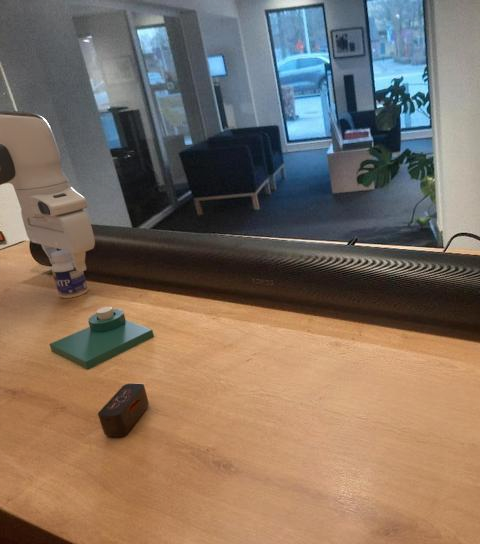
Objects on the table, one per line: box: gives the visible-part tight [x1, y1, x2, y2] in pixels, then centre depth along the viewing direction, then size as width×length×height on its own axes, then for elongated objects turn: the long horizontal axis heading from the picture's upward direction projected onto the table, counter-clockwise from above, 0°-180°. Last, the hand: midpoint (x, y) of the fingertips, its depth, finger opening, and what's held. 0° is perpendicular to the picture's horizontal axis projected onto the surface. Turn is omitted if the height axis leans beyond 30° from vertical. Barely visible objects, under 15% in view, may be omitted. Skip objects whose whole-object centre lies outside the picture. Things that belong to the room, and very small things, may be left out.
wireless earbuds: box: [97, 383, 150, 437], centre depth 60 cm, size 5×7×3 cm, turn 175°
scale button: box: [95, 306, 114, 320], centre depth 82 cm, size 2×2×2 cm
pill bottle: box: [50, 249, 89, 299], centre depth 99 cm, size 5×5×9 cm
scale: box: [49, 308, 155, 370], centre depth 79 cm, size 11×11×3 cm
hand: (68, 267), depth 99 cm, fingers open, 8 cm apart
